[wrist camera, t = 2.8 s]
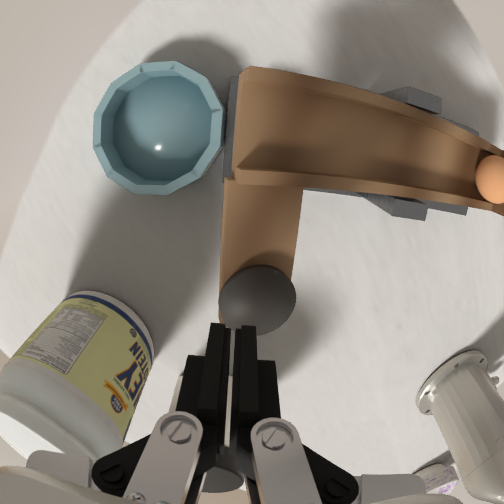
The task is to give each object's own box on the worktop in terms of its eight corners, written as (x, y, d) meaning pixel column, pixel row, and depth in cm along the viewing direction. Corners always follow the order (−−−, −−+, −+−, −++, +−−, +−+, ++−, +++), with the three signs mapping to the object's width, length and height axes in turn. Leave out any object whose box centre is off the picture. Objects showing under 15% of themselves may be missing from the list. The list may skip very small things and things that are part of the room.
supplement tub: (159, 382, 32) (121, 506, 16) (72, 358, 31) (13, 456, 15) (157, 298, 27) (84, 448, 11) (55, 275, 26) (-45, 375, 11)
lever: (488, 148, 17) (517, 156, 14) (455, 290, 22) (478, 306, 19) (228, 73, 12) (244, 57, 9) (215, 321, 17) (224, 359, 14)
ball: (490, 156, 16) (524, 166, 13) (483, 198, 18) (516, 211, 15) (470, 146, 15) (509, 156, 12) (463, 193, 17) (501, 208, 14)
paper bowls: (443, 470, 49) (451, 491, 41) (393, 491, 50) (399, 514, 43) (456, 448, 43) (466, 473, 36) (398, 474, 45) (406, 501, 38)
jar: (229, 358, 30) (219, 456, 19) (261, 401, 32) (262, 488, 21) (162, 378, 31) (135, 463, 20) (199, 416, 34) (186, 494, 23)
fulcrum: (475, 131, 20) (533, 140, 13) (462, 213, 23) (515, 243, 16) (231, 77, 20) (218, 48, 12) (223, 181, 23) (207, 204, 15)
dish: (230, 69, 19) (227, 60, 17) (221, 190, 23) (216, 197, 20) (114, 75, 19) (98, 69, 16) (110, 186, 23) (93, 193, 20)
